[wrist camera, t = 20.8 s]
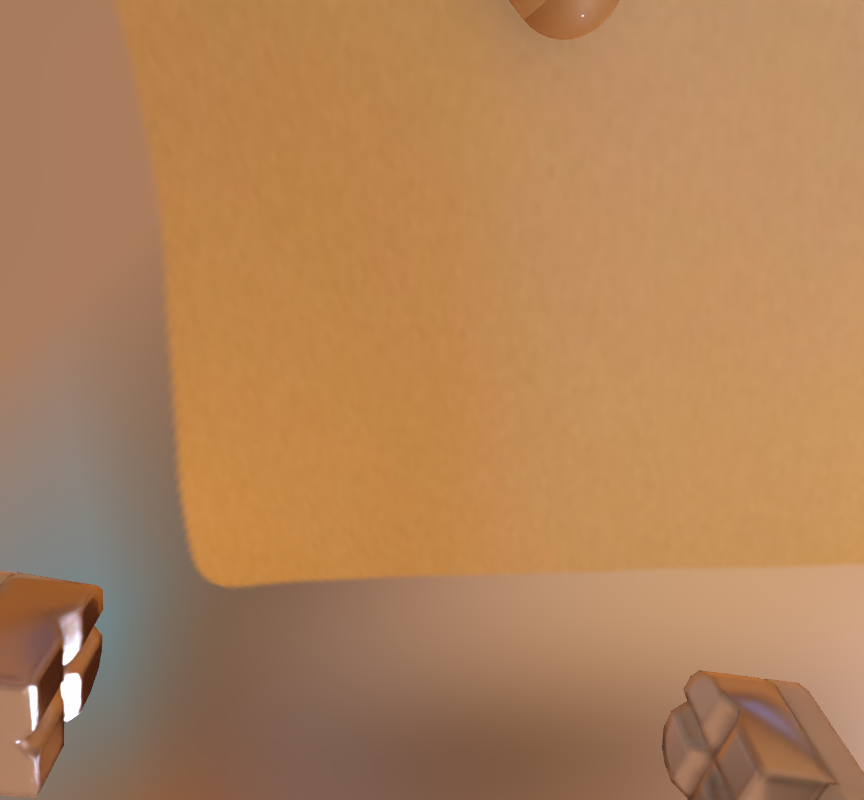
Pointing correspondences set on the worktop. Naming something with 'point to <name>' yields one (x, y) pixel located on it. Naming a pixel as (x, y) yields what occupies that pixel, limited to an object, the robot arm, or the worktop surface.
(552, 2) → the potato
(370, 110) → the worktop surface
